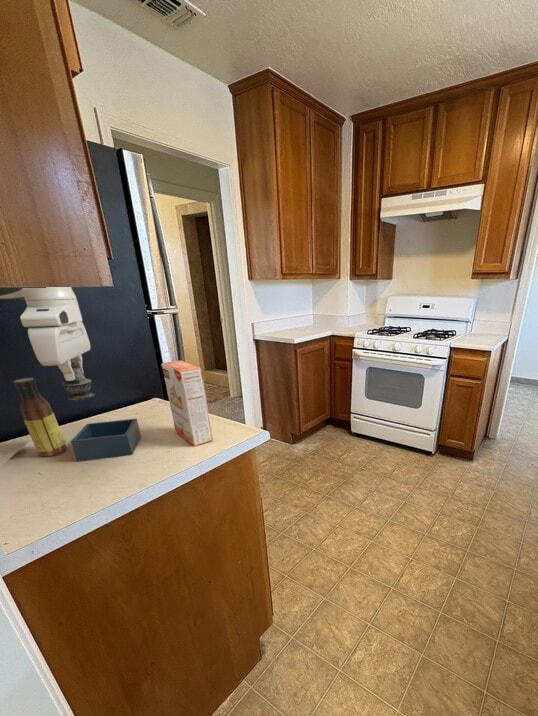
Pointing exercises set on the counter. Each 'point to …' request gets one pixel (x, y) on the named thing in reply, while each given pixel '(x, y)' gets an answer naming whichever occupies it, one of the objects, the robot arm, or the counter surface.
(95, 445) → the bin
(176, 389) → the cracker box
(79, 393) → the grey chess piece
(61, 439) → the sauce bottle
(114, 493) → the counter surface
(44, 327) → the robot arm
